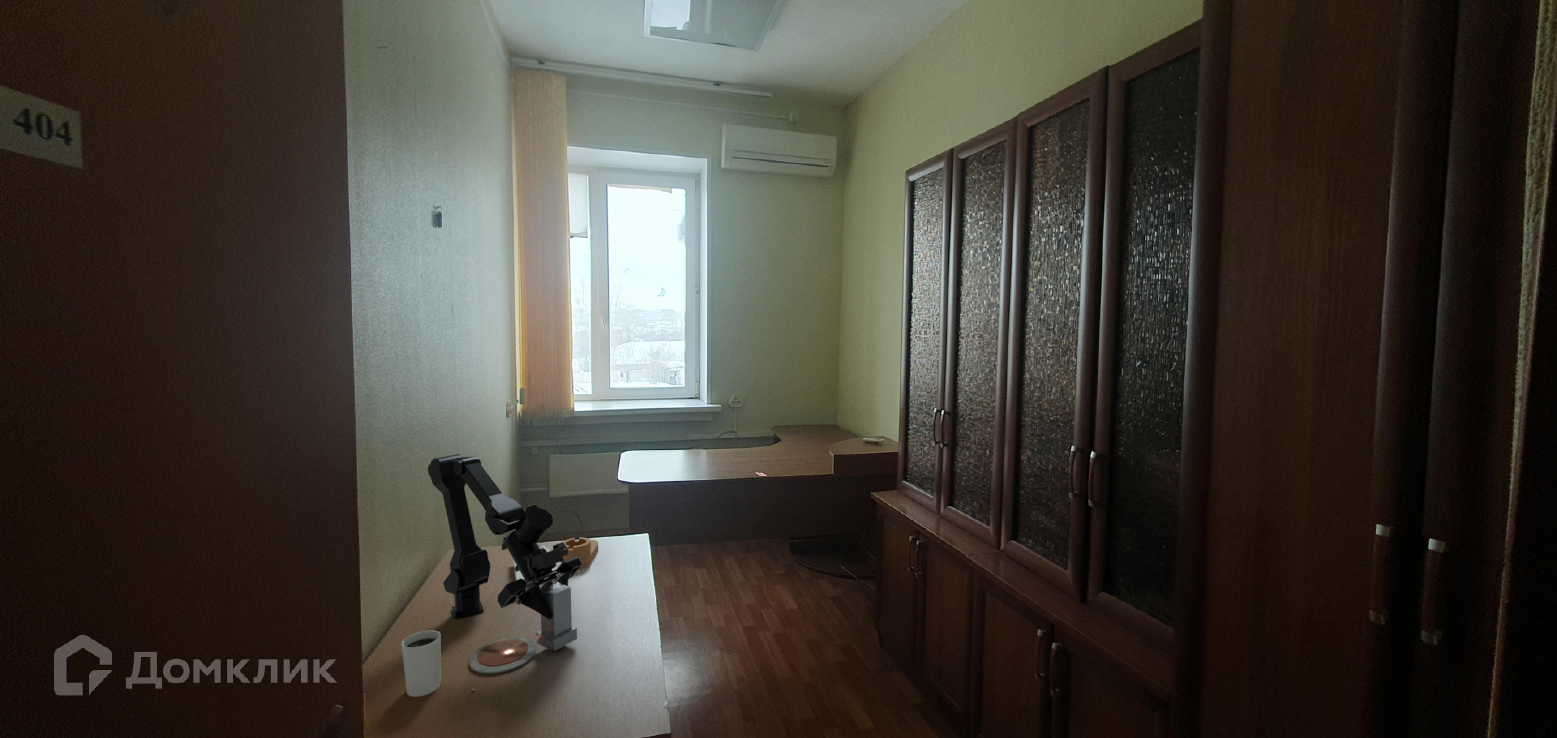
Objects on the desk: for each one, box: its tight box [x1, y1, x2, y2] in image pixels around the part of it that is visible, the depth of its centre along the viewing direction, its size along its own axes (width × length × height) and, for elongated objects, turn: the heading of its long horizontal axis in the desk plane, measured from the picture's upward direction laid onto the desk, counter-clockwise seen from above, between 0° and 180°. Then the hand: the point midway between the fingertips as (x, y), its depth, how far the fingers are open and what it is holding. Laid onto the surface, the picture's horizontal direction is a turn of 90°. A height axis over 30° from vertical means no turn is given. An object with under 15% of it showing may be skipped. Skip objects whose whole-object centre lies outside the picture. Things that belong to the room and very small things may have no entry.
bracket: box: [562, 537, 599, 570], centre depth 185 cm, size 18×8×7 cm, turn 5°
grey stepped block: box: [535, 582, 578, 652], centre depth 132 cm, size 6×6×12 cm
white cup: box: [401, 629, 442, 698], centre depth 118 cm, size 7×7×10 cm
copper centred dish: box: [468, 637, 537, 675], centre depth 130 cm, size 13×13×1 cm
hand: (560, 613), depth 132 cm, fingers closed on grey stepped block, 4 cm apart
